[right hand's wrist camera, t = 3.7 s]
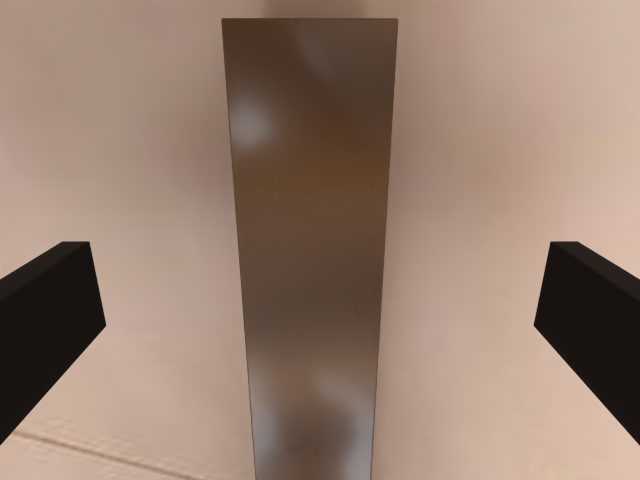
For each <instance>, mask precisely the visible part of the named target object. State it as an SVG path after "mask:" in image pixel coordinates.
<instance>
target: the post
mask: <svg viewBox="0 0 640 480" xmlns="http://www.w3.org/2000/svg"><path fill="white" fill-rule="evenodd" d="M221 23H222V36H223V49H224V63H225V76H226V89H227V103H228V116H229V130H230V143H231V156H232V170H233V183H234V196H235V210H236V223H237V236H238V250H239V263H240V276H241V290H242V303H243V316H244V330H245V343H246V357H247V370H248V383H249V397H250V410H251V423H252V437H253V450H254V463H255V477H256V480H371V469H372V452H373V435H374V419H375V402H376V385H377V368H378V351H379V335H380V318H381V301H382V284H383V267H384V251H385V234H386V217H387V200H388V183H389V167H390V150H391V133H392V116H393V99H394V83H395V66H396V49H397V32H398V19H397V18H222V20H221Z"/></svg>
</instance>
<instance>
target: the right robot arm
mask: <svg viewBox="0 0 640 480" xmlns="http://www.w3.org/2000/svg"><path fill="white" fill-rule="evenodd" d="M105 327H106V321H105V317H104V312H103V307H102V302H101V297H100V292H99V287H98V282H97V277H96V272H95V267H94V262H93V257H92V252H91V247H90V242H61V243H59V244H58V245H56V246H54V247H53V248H51V249H49V250H48V251H46V252H44V253H43V254H41V255H40V256H38V257H36V258H35V259H33V260H31V261H30V262H28V263H26V264H25V265H23V266H22V267H20V268H18V269H17V270H15V271H13V272H12V273H10V274H8V275H7V276H5V277H4V278H2V279H0V445H1V444H2V443H3V442H4V441H5V440H6V438H7V437H8V436H9V435H10V434H11V433H12V432H13V431H14V429H15V428H16V427H17V426H18V425H19V424H20V423H21V421H22V420H23V419H24V418H25V417H26V416H27V415H28V414H29V412H30V411H31V410H32V409H33V408H34V407H35V406H36V405H37V403H38V402H39V401H40V400H41V399H42V398H43V397H44V395H45V394H46V393H47V392H48V391H49V390H50V389H51V388H52V386H53V385H54V384H55V383H56V382H57V381H58V380H59V379H60V377H61V376H62V375H63V374H64V373H65V372H66V371H67V370H68V368H69V367H70V366H71V365H72V364H73V363H74V362H75V360H76V359H77V358H78V357H79V356H80V355H81V354H82V353H83V351H84V350H85V349H86V348H87V347H88V346H89V345H90V344H91V342H92V341H93V340H94V339H95V338H96V337H97V336H98V335H99V333H100V332H101V331H102V330H103V329H104V328H105ZM534 327H535V328H536V329H537V330H538V331H539V332H540V333H541V335H542V336H543V337H544V338H545V339H546V340H547V341H548V342H549V344H550V345H551V346H552V347H553V348H554V349H555V350H556V351H557V353H558V354H559V355H560V356H561V357H562V358H563V359H564V360H565V362H566V363H567V364H568V365H569V366H570V367H571V368H572V370H573V371H574V372H575V373H576V374H577V375H578V376H579V377H580V379H581V380H582V381H583V382H584V383H585V384H586V385H587V386H588V388H589V389H590V390H591V391H592V392H593V393H594V394H595V395H596V397H597V398H598V399H599V400H600V401H601V402H602V403H603V405H604V406H605V407H606V408H607V409H608V410H609V411H610V412H611V414H612V415H613V416H614V417H615V418H616V419H617V420H618V421H619V423H620V424H621V425H622V426H623V427H624V428H625V429H626V431H627V432H628V433H629V434H630V435H631V436H632V437H633V438H634V440H635V441H636V442H637V443H638V444H639V445H640V279H638V278H636V277H635V276H633V275H632V274H630V273H628V272H627V271H625V270H623V269H622V268H620V267H618V266H617V265H615V264H614V263H612V262H610V261H609V260H607V259H605V258H604V257H602V256H600V255H599V254H597V253H596V252H594V251H592V250H591V249H589V248H587V247H586V246H584V245H582V244H581V243H579V242H550V247H549V252H548V257H547V262H546V267H545V272H544V277H543V282H542V287H541V292H540V297H539V302H538V307H537V312H536V317H535V321H534Z"/></svg>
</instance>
